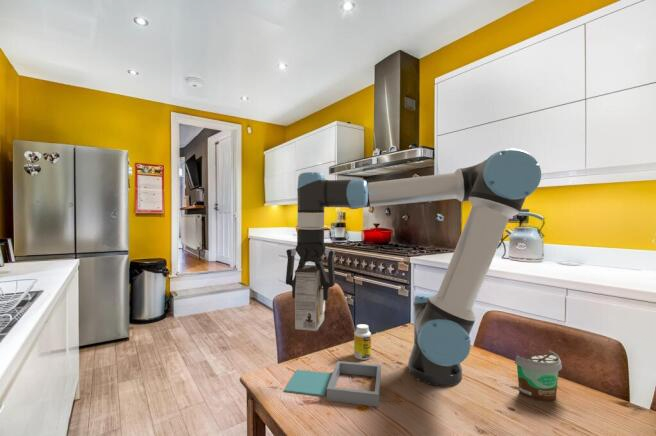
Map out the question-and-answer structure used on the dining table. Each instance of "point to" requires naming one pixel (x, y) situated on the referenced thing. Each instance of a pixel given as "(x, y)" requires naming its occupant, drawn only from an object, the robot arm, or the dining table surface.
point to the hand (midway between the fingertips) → (310, 310)
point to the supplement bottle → (362, 342)
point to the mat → (309, 382)
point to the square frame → (352, 394)
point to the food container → (538, 376)
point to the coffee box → (308, 298)
